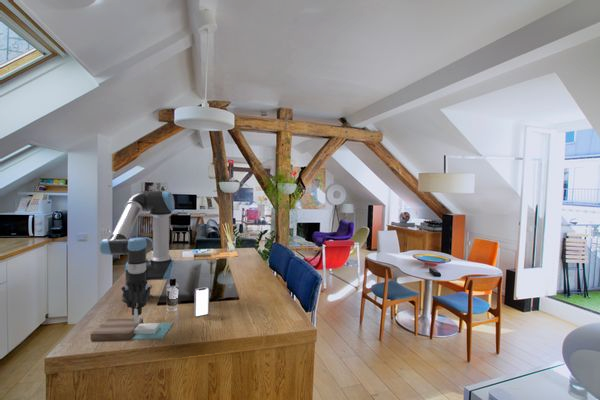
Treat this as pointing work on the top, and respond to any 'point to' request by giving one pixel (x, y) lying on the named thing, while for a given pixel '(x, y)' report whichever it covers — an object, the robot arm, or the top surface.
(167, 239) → the robot arm
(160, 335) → the mat
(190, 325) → the top surface
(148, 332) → the white slab
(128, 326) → the brown wooden flat block
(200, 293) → the mobile phone
